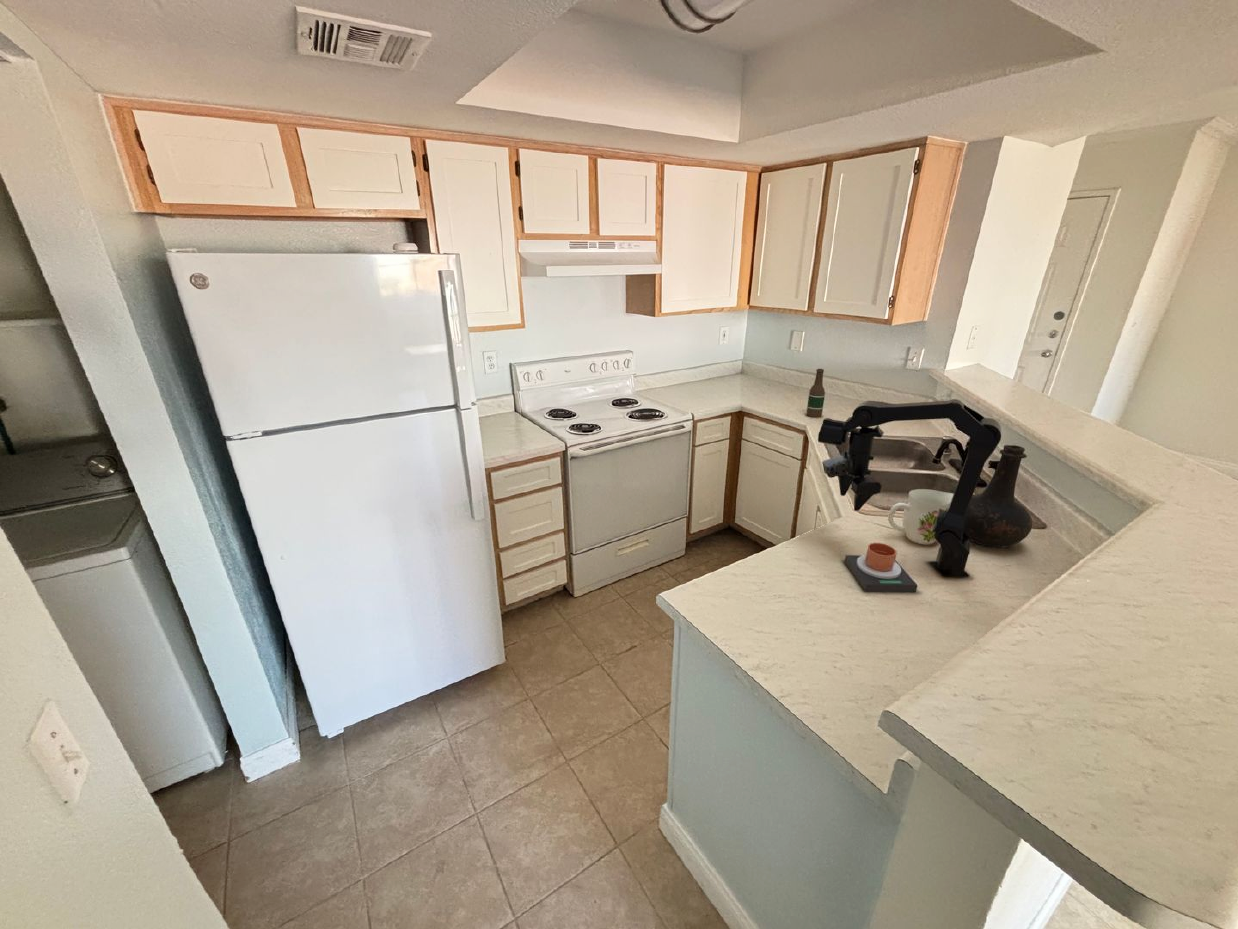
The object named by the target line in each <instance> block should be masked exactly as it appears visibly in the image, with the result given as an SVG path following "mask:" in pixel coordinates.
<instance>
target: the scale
mask: <svg viewBox="0 0 1238 929" xmlns="http://www.w3.org/2000/svg"><path fill="white" fill-rule="evenodd" d="M865 557H866V554H861V555H860V554H859V555H856V554H855V555H854V554H852V555H851V554H845V556H844V563H845V565H846V566H847V568H848V569H849V571H850V572H851V574H852V575H853V577H854V578H855V579H856V581H857V582H858V584H859V585H860V587H861V588H862V590H863V591H864V592H880V593H881V592H882V593H883V592H884V593H885V592H886V593H888V592H892V593H893V592H894V593H916V592H917V588H918V584H917V583H916V581H914V579H913V578H912V577H911V576H910V575H909V574H908V572H907V571H906V570H905V569H904V568H903V566H902V565H901V564H900V563H899V562H898V561H897V559H895V563H894V567H893V568H892V569H891V570H890V571H878V570H874V569H872V568H870V567H869V566H868V565H867V564H866V562H865Z"/></svg>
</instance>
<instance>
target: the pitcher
mask: <svg viewBox="0 0 1238 929" xmlns="http://www.w3.org/2000/svg"><path fill="white" fill-rule="evenodd" d="M953 494H954V492H945V491H940V490H936V489H926V488H918V489H916V488H915V489H912V490H910V491H909V492H908V502H907V503H904V502H897V503H895V504H894V505H892V506H891V508H890V509H889V512H888V515H887V520H888V524H889V525H890V526H891V527H892V528H893V529H894V530H896V531H899V532H902V533H905V535H906V538H908V540H910V541H911V542H913V543H916V544H919V545H932V544H933V543H935V542H937V541H936V540H935V532H933V527H934V522H935V520H936V519H937V517H938V512H939V509H942V510H946V509H947V508H948V506H949V505H950V502H951V500H952V497H953ZM901 508H903V512H902V520H901V521H902V525H898V524H897V523H895V520H894V514H895V512H896V511H897V510H898V509H901Z"/></svg>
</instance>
